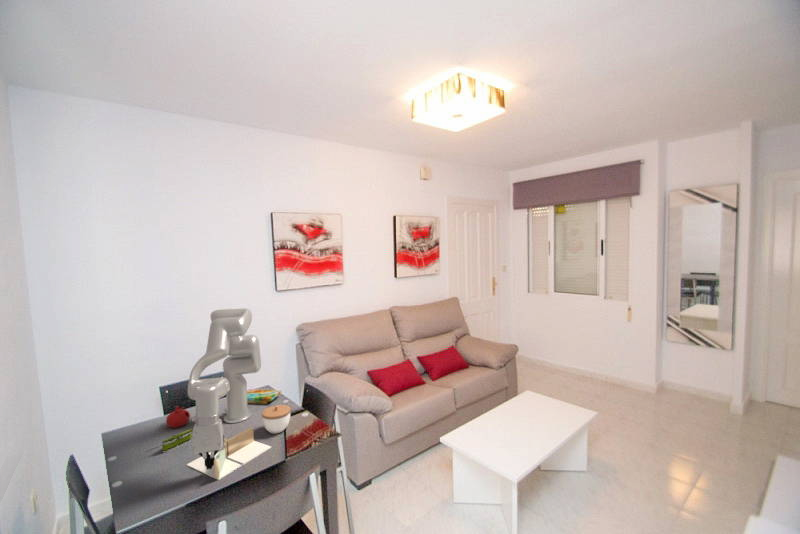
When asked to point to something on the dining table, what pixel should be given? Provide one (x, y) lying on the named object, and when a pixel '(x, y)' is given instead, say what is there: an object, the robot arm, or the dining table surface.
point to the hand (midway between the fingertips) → (209, 467)
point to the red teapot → (178, 418)
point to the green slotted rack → (176, 441)
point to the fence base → (238, 441)
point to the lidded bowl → (276, 418)
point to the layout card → (231, 459)
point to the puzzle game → (261, 396)
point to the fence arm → (219, 463)
